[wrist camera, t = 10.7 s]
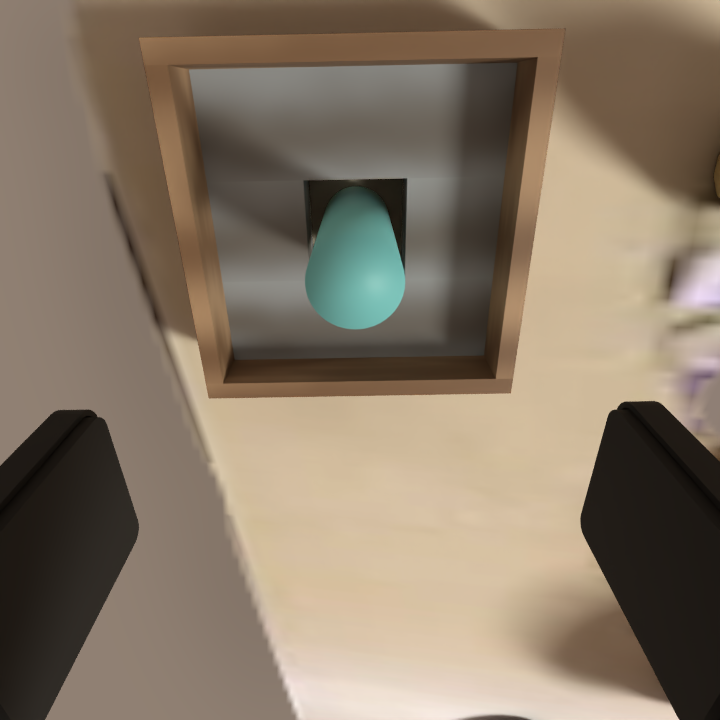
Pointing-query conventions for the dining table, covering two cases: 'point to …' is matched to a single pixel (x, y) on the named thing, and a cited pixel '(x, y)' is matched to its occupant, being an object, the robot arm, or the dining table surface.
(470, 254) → the box
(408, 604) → the dining table surface
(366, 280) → the peg
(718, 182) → the squeeze bottle
